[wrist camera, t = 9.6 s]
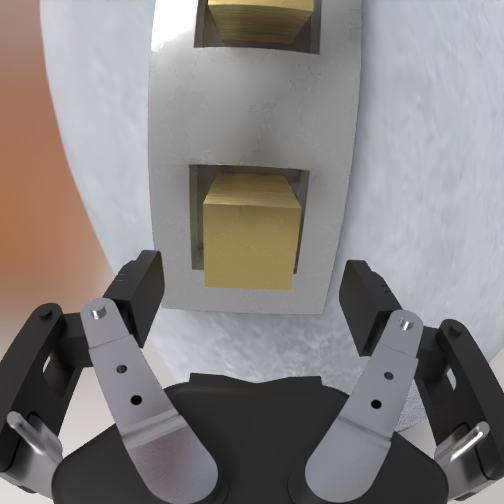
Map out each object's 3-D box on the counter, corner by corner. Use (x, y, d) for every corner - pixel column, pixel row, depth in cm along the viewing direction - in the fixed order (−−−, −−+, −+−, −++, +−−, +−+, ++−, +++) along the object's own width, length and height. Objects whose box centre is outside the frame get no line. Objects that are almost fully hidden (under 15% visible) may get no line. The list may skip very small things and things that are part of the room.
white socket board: (180, -54, 10) (171, -72, 8) (345, -43, 11) (357, -60, 8) (170, 285, 23) (162, 307, 20) (314, 291, 24) (322, 314, 21)
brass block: (284, 175, 19) (301, 208, 13) (278, 235, 21) (290, 290, 15) (218, 172, 19) (203, 203, 13) (217, 232, 21) (204, 286, 15)
